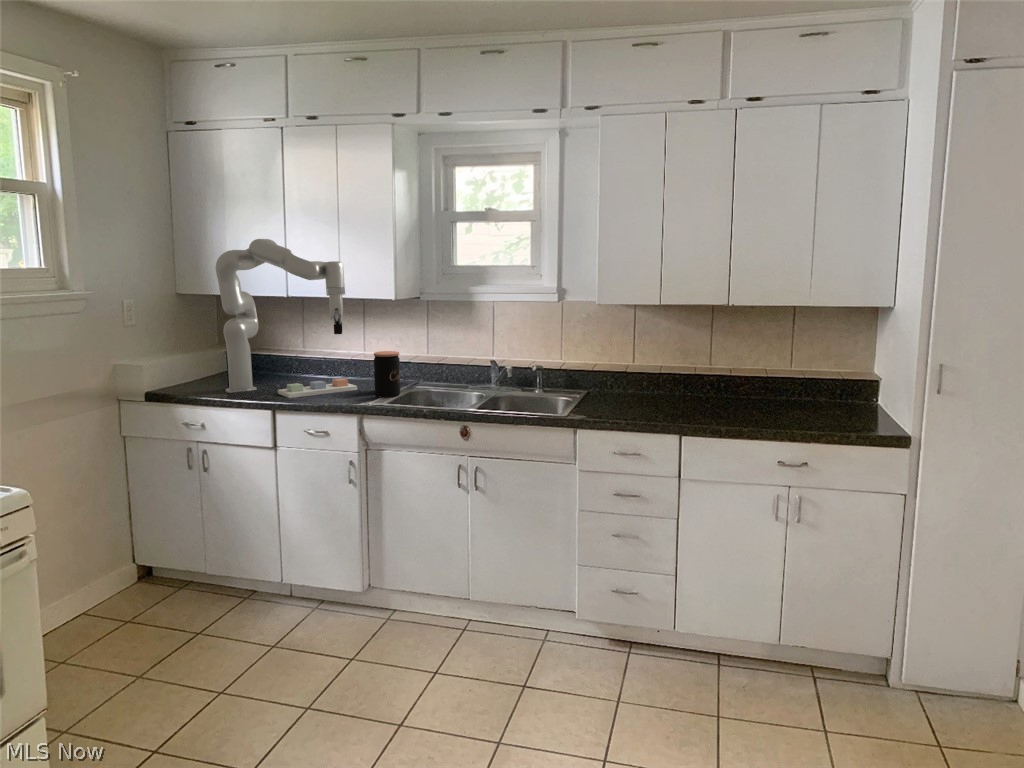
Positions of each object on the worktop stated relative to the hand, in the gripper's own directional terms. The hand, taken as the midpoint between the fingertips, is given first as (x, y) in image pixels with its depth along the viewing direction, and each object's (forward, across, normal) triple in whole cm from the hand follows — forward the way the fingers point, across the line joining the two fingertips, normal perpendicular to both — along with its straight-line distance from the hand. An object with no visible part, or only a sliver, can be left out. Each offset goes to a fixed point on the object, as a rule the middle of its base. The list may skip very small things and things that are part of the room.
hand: (338, 332), depth 316 cm
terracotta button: (+24, -5, -1) cm, 25 cm away
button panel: (+26, -1, -10) cm, 28 cm away
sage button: (+24, +4, -19) cm, 31 cm away
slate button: (+24, -1, -10) cm, 26 cm away
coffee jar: (+27, +6, +19) cm, 33 cm away
